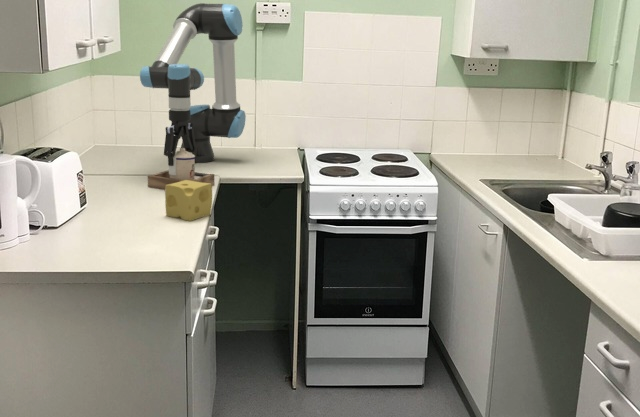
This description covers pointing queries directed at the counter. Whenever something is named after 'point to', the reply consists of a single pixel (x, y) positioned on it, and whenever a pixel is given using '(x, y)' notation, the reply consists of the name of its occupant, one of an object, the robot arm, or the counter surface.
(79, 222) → the counter surface
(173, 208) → the cheese
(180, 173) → the teacup with lid
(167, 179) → the wooden tray
